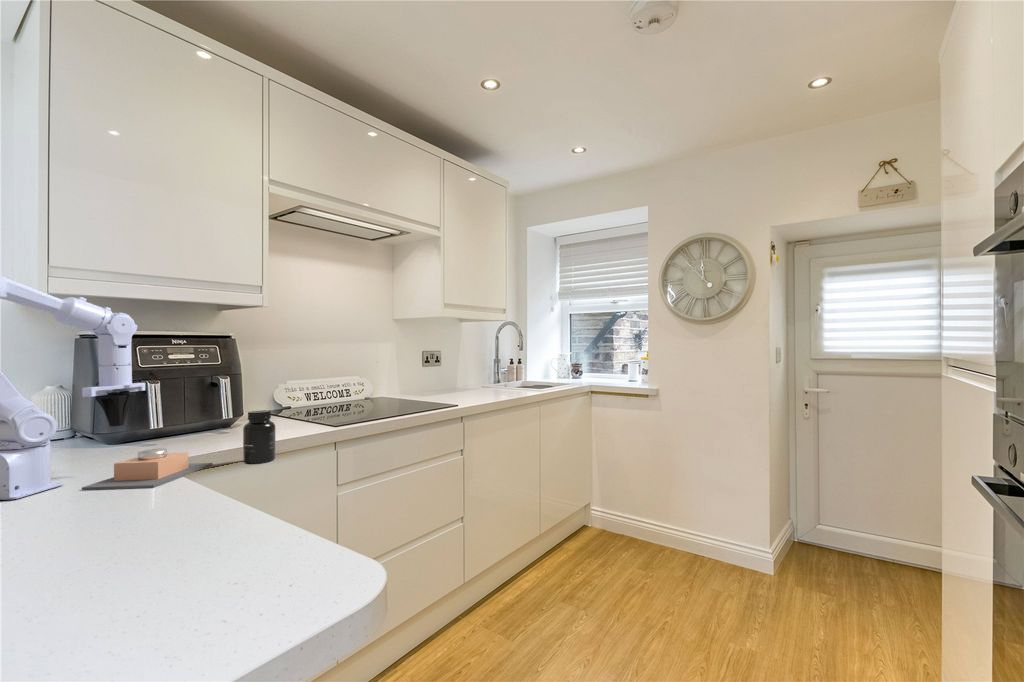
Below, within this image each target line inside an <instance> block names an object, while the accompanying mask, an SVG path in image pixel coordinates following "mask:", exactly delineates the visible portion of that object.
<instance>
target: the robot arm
mask: <svg viewBox="0 0 1024 682" xmlns="http://www.w3.org/2000/svg"><path fill="white" fill-rule="evenodd" d="M0 300H4V301H8V302H12V303H15V304H18V305H22V306H25V307H29V308H33V309H37V310H40V311H43V312H46V313H50V314H52V315H53V317H54V319H55V320H56V322H59V323H61V324H65V325H68V326H70V327H75V328H78V329H81V330H84V331H87V332H90V333H93V334H94V335H95V336H96V338H97V339H98V340H97V344H98V345H97V349H98V350H97V351H98V359H97V360H98V385H97V386H88V387H82V388H81V392H82V393H81V394H82V395H81V397H82V398H92V397H94V398H95V401H96V402H97V403H98V404H99V405H100V407H101V409H102V410H103V412H104V415H105V416H106V419H107V422H108V425H109V427H121V426H124V424H125V421H126V418H127V414H128V411H129V409H130V406H131V404H132V403H133V401H134V400H135V399H136V397H137V395H136V392H143V391H146V382H134V383H133V376H132V375H133V367H132V366H133V365H132V360H133V359H132V343H133V342H132V337H133V335H134V334H135V333H136V332H137V330H138V324H135V321H134V318H132V317H131V315H129V314H128V313H125V312H113V311H112V308H111V307H108V306H103V307H102V306H99V305H95V304H94V303H91V302H88V301H87V298H85V297H82V296H76V297H73V296H69V297H64V298H59V297H56V296H53V295H51V294H48V293H46V292H44V291H41V290H39V289H35V288H33V287H30V286H28V285H26V284H23V283H20V282H17V281H15V280H13V279H9V278H7V277H5V276H2V275H0ZM57 429H58V423H57V421H56V419H55V418H54V417H53V416H52V415H51V414H49V413H48V412H47V413H46V412H45V411H42V410H40V409H39V408H38V406H36V404H35V403H33V402H32V401H30V400H29V399H27V398H25V397H24V396H22V395H21V394H20V392H19V391H18V389H16V387H14V385H13V384H12V383H11V381H9V379H8V378H7V376H6V375H5V374H4V373H3V372H2V371H1V370H0V501H3V500H18V499H21V498H25V497H28V496H31V495H34V494H38V493H42V492H44V491H47V490H51V489H55V488H57V487H61V486H63V485H65V484H64V482H52V476H51V475H52V468H51V466H52V463H51V460H52V457H51V456H52V455H51V452H52V451H51V449H52V448H51V439H52V438H53V437H54V435H55V434H56V433H57Z"/></svg>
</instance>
